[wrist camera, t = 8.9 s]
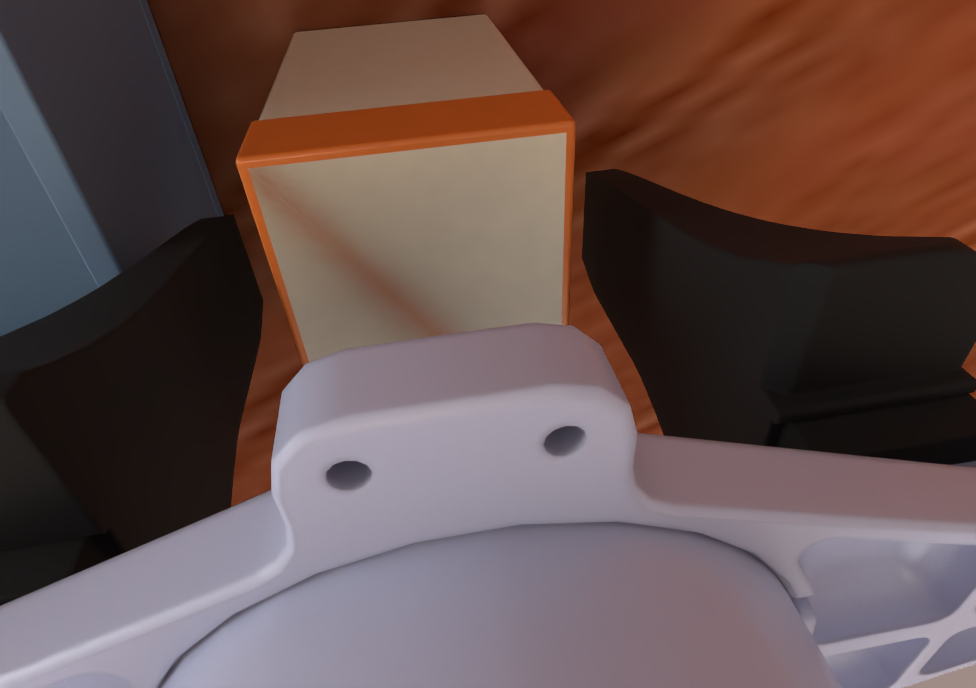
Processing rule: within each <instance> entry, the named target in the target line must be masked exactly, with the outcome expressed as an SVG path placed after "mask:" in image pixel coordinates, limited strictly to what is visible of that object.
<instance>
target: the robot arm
mask: <svg viewBox="0 0 976 688" xmlns="http://www.w3.org/2000/svg"><path fill="white" fill-rule="evenodd" d="M582 259H583V262H584V265H585V268H586V271H587V274H588V277H589V279H590V282H591V285H592V287H593V290H594V292H595V294H596V296H597V298H598V300H599V302H600V304H601V305H602V307H603V309H604V311H605V313H606V314H607V316H608V318H609V320H610V322H611V323H612V325H613V327H614V329H615V330H616V332H617V334H618V336H619V338H620V339H621V341H622V343H623V345H624V346H625V348H626V350H627V352H628V353H629V355H630V357H631V359H632V361H633V362H634V364H635V366H636V368H637V370H638V372H639V374H640V376H641V378H642V381H643V383H644V386H645V388H646V391H647V393H648V396H649V398H650V401H651V403H652V405H653V408H654V410H655V413H656V415H657V418H658V421H659V423H660V426H661V429H662V432H663V434H664V435H654V434H644V433H637V431H636V427H635V423H634V419H633V415H632V411H631V407H630V404H629V402H628V400H627V398H626V396H625V394H624V392H623V390H622V388H621V386H620V384H619V382H618V380H617V377H616V375H615V373H614V371H613V369H612V367H611V365H610V363H609V361H608V359H607V357H606V355H605V353H604V351H603V349H602V347H601V345H600V344H599V343H597V342H596V341H594V340H593V339H591V338H590V337H589V336H587V335H586V334H584V333H583V332H581V331H580V330H579V329H577V328H576V327H574V326H571V325H558V324H545V323H526V324H519V325H511V326H504V327H497V328H490V329H483V330H476V331H469V332H462V333H455V334H448V335H441V336H434V337H427V338H420V339H412V340H405V341H398V342H391V343H384V344H377V345H370V346H363V347H356V348H349V349H345V350H342V351H339V352H337V353H334V354H331V355H328V356H326V357H323V358H320V359H317V360H315V361H312V362H309V363H307V364H305V365H304V366H303V368H302V369H301V370H300V371H299V372H298V373H297V375H296V376H295V377H294V378H293V379H292V380H291V382H290V383H289V384H288V385H287V386H286V387H285V389H284V390H283V391H282V395H281V402H280V408H279V415H278V421H277V428H276V434H275V441H274V447H273V454H272V460H271V490H270V491H268V492H265V493H263V494H261V495H258V496H256V497H254V498H251V499H249V500H247V501H244V502H242V503H240V504H237V505H235V506H233V507H231V499H232V486H233V475H234V466H235V456H236V447H237V439H238V433H239V428H240V423H241V418H242V414H243V410H244V406H245V402H246V398H247V394H248V390H249V386H250V382H251V378H252V374H253V369H254V365H255V361H256V357H257V352H258V348H259V343H260V339H261V327H262V311H263V299H262V296H261V293H260V290H259V287H258V284H257V281H256V278H255V276H254V273H253V270H252V267H251V264H250V261H249V258H248V255H247V253H246V250H245V247H244V244H243V241H242V238H241V235H240V233H239V230H238V227H237V224H236V221H235V218H234V215H228V216H219V217H211V218H203V219H200V220H198V221H196V222H194V223H192V224H191V225H189V226H187V227H186V228H184V229H183V230H181V231H180V232H179V233H177V234H176V235H174V236H173V237H171V238H170V239H169V240H167V241H166V242H165V243H163V244H162V245H160V246H159V247H158V248H156V249H155V250H154V251H152V252H151V253H149V254H148V255H147V256H145V257H144V258H142V259H141V260H140V261H138V262H137V263H135V264H134V265H132V266H131V267H129V268H128V269H126V270H125V271H123V272H122V273H120V274H119V275H117V276H116V277H114V278H113V279H111V280H110V281H108V282H107V283H105V284H104V285H102V286H100V287H99V288H97V289H95V290H94V291H92V292H90V293H89V294H87V295H85V296H83V297H82V298H80V299H78V300H76V301H74V302H73V303H71V304H69V305H67V306H65V307H63V308H61V309H59V310H57V311H56V312H54V313H52V314H50V315H47V316H45V317H43V318H41V319H39V320H37V321H34V322H32V323H30V324H27V325H25V326H23V327H21V328H18V329H16V330H14V331H11V332H9V333H7V334H5V335H2V336H0V688H903V687H906V686H910V685H913V684H916V683H919V682H922V681H925V680H928V679H931V678H934V677H937V676H940V675H943V674H946V673H949V672H953V671H955V670H959V669H962V668H965V667H968V666H971V665H974V664H976V400H975V399H974V398H973V397H972V396H971V395H970V394H969V393H972V392H974V391H975V390H976V379H975V378H974V377H972V376H971V375H970V374H969V373H968V372H967V371H965V370H964V369H963V368H962V367H961V366H962V364H963V363H964V361H965V359H966V357H967V356H968V354H969V352H970V350H971V349H972V347H973V345H974V343H975V342H976V251H974V250H973V249H971V248H970V247H968V246H966V245H965V244H963V243H962V242H960V241H959V240H957V239H955V238H951V237H893V236H872V235H859V234H847V233H837V232H828V231H820V230H813V229H807V228H801V227H795V226H788V225H783V224H778V223H773V222H768V221H764V220H760V219H756V218H752V217H748V216H744V215H740V214H737V213H733V212H730V211H727V210H723V209H720V208H718V207H715V206H712V205H709V204H706V203H703V202H700V201H697V200H695V199H692V198H690V197H687V196H684V195H682V194H679V193H677V192H675V191H672V190H670V189H667V188H665V187H662V186H660V185H658V184H655V183H653V182H651V181H648V180H646V179H643V178H641V177H638V176H636V175H633V174H631V173H628V172H625V171H621V170H617V169H610V170H602V171H594V172H586V184H585V206H584V227H583V248H582Z"/></svg>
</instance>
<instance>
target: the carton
mask: <svg viewBox="0 0 976 688" xmlns="http://www.w3.org/2000/svg"><path fill="white" fill-rule="evenodd" d="M219 216H224V213H223V210H222V208H221V205H220V202H219V199H218V196H217V194H216V191H215V188H214V185H213V183H212V180H211V177H210V174H209V171H208V169H207V166H206V163H205V160H204V158H203V155H202V152H201V149H200V146H199V144H198V141H197V138H196V135H195V133H194V130H193V127H192V124H191V121H190V119H189V116H188V113H187V110H186V108H185V105H184V102H183V99H182V96H181V94H180V91H179V88H178V85H177V83H176V80H175V77H174V74H173V71H172V69H171V66H170V63H169V60H168V57H167V55H166V52H165V49H164V46H163V44H162V41H161V38H160V35H159V32H158V30H157V27H156V24H155V21H154V19H153V16H152V13H151V10H150V7H149V5H148V2H147V0H0V336H2V335H5V334H7V333H9V332H11V331H14V330H16V329H18V328H21V327H23V326H25V325H27V324H30V323H32V322H34V321H37V320H39V319H41V318H43V317H45V316H47V315H50V314H52V313H54V312H56V311H57V310H59V309H61V308H63V307H65V306H67V305H69V304H71V303H73V302H74V301H76V300H78V299H80V298H82V297H83V296H85V295H87V294H89V293H90V292H92V291H94V290H95V289H97V288H99V287H100V286H102V285H104V284H105V283H107V282H108V281H110V280H111V279H113V278H114V277H116V276H117V275H119V274H120V273H122V272H123V271H125V270H126V269H128V268H129V267H131V266H132V265H134V264H135V263H137V262H138V261H140V260H141V259H142V258H144V257H145V256H147V255H148V254H149V253H151V252H152V251H154V250H155V249H156V248H158V247H159V246H160V245H162V244H163V243H165V242H166V241H167V240H169V239H170V238H171V237H173V236H174V235H176V234H177V233H179V232H180V231H181V230H183V229H184V228H186V227H187V226H189V225H191V224H192V223H194V222H196V221H198V220H200V219H203V218H211V217H219Z"/></svg>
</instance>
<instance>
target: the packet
mask: <svg viewBox="0 0 976 688" xmlns="http://www.w3.org/2000/svg"><path fill="white" fill-rule="evenodd" d="M575 130H576V124H575V121H574V120H573V118H572V117H571V116H570V114H569V113H568V112H567V111H566V109H565V108H564V107H563V106H562V104H561V103H560V102H559V100H558V99H557V98H556V97H555V95H554V94H553V93H552V92H551V91H550V90H543V89H542V87H541V86H540V85H539V83H538V82H537V81H536V79H535V78H534V77H533V75H532V74H531V73H530V71H529V70H528V69H527V67H526V66H525V65H524V64H523V62H522V61H521V60H520V58H519V57H518V56H517V54H516V53H515V52H514V50H513V49H512V48H511V46H510V45H509V44H508V42H507V41H506V40H505V38H504V37H503V36H502V34H501V33H500V32H499V30H498V29H497V28H496V26H495V25H494V24H493V23H492V21H491V20H490V19H489V17H488V16H487V15H485V14H482V15H471V16H461V17H450V18H440V19H429V20H419V21H408V22H398V23H387V24H377V25H366V26H356V27H345V28H334V29H324V30H313V31H303V32H296V33H294V34H293V37H292V39H291V42H290V44H289V47H288V49H287V52H286V54H285V56H284V59H283V61H282V64H281V66H280V69H279V71H278V74H277V76H276V79H275V81H274V84H273V86H272V89H271V91H270V94H269V96H268V98H267V101H266V103H265V106H264V108H263V111H262V113H261V116H260V118H259V120H257V121H253V122H252V123H251V125H250V127H249V129H248V132H247V134H246V136H245V139H244V141H243V143H242V146H241V148H240V150H239V153H238V155H237V157H236V165H237V168H238V171H239V174H240V177H241V180H242V183H243V186H244V189H245V193H246V196H247V199H248V202H249V205H250V208H251V211H252V214H253V217H254V220H255V223H256V226H257V229H258V232H259V235H260V238H261V241H262V244H263V247H264V250H265V253H266V257H267V260H268V263H269V266H270V269H271V272H272V275H273V278H274V281H275V284H276V287H277V290H278V293H279V296H280V299H281V302H282V305H283V308H284V311H285V314H286V318H287V321H288V324H289V327H290V330H291V333H292V336H293V339H294V342H295V345H296V348H297V351H298V354H299V357H300V360H301V363H302V366H304V365H305V364H307V363H309V362H312V361H315V360H317V359H320V358H323V357H326V356H328V355H331V354H334V353H337V352H339V351H342V350H345V349H349V348H356V347H363V346H370V345H377V344H384V343H391V342H398V341H405V340H412V339H420V338H427V337H434V336H441V335H448V334H455V333H462V332H469V331H476V330H483V329H490V328H497V327H504V326H511V325H519V324H526V323H545V324H558V325H569V300H570V272H571V244H572V215H573V187H574V159H575Z"/></svg>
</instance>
